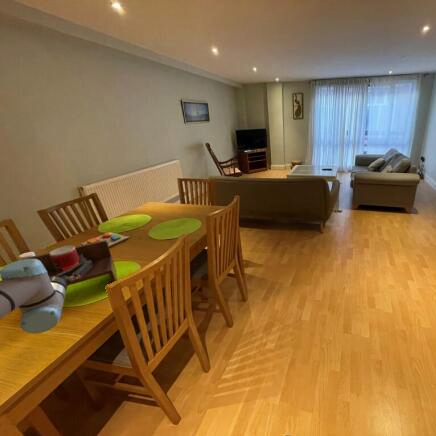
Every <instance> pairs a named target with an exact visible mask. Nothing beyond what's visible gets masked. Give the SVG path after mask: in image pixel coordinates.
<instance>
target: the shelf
mask: <svg viewBox="0 0 436 436" xmlns="http://www.w3.org/2000/svg"><path fill="white" fill-rule="evenodd" d="M74 247H75V249H76V251H77V254H78V256H80V254H82V255H83V257H84V258H86V260H87V261H88V260H91V262H92V264H93V267H91V268H90V269H89V270H88V271H87V272H86V273H85V274H84V275H83V276H82V277H81V279H80V280H79V281H76V280H70V282H68V284H67V287H68V286H71V285H76V284H79V283H82V282H86V281H89V280H93V279H96V278H100V277H104V276H107V275H108V276H109V279H110V283H112V282H114V281H117V282H118V274H117V273H118V272H117V267H116V264H115V262H114V260H113V259H114V258H113V256H112V252H111V249H110V247H108V244H107V241H106V240H104V241H99V242H95V243H90V244H86V245H81V244H80V245H77V246H74ZM49 253H50V252H46V253H42V254H38V255H35V256H32V257H28V258H23V259H20V260H24V259H37V260H39V261H41V263H42V264H43V266H44V267H45V269H46V271H47V274H48V276H49V277H50V276H55V275H58V272H57V270H56V268H55V266H54V264H53V261H52V259H51V257H50V254H49ZM116 272H117V273H116Z"/></svg>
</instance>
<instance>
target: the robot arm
mask: <svg viewBox="0 0 436 436" xmlns="http://www.w3.org/2000/svg"><path fill="white" fill-rule="evenodd" d="M91 267H93V264H92V262H91V260H88V261H87V260H86V258H84V257H83V255H82V254H80V256H79V264H77V265H75V266H74V267H72V268H70V269H69V270H67V271H63V272H61V273H60V274H58V275H55V276H50V277H49V276H48V274H47V271H46V269H45V267H44V266H43V264H42V263H41V261H39V260H37V259H24V260H21V259H20V260H16V261H14V262H11V263H8V264H6V265H5V266H3V267H2V268H1V269H0V279H1V280H0V320H1V319H3V318H4V317H6V316H8V315H9V314H10V313H12V312H14V311H15V310H17V309H18V310H19V312H20V313H21V317H20V320H19V321H20V322H19V327H20V329H21V330H22V331H23V332H24V333H27V334H43V333H45V332H47V331H50V330H52V329H53V328H55V327H56V326H57V325H58V323H59V322H60V319H61V316H62V314H63V307H64V302H65V298H66V293H67V290H68V286H67V284H68V282H70V280H76V281H79V280H80V279H81V277H82V276H83V275H84V274H85V273H86V272H87V271H88V270H89V269H90V268H91Z"/></svg>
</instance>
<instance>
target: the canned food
mask: <svg viewBox="0 0 436 436" xmlns="http://www.w3.org/2000/svg"><path fill="white" fill-rule="evenodd" d="M75 247H76V246H74V245H64V246H60V247H58V248H54V249H53V250H51V251H49V252H48V253H49V254H50V257H51V259H52V261H53V264H54V266H55V268H56V270H57V272H58V274H60V273H61V272H63V271H67V270H69V269H70V268H72V267H74V266H75V265H77V264H79V256H78V254H77V251H76V249H75Z"/></svg>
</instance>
